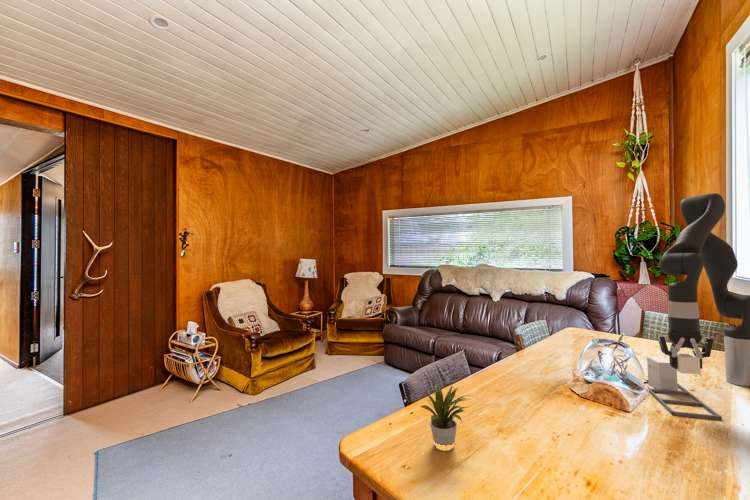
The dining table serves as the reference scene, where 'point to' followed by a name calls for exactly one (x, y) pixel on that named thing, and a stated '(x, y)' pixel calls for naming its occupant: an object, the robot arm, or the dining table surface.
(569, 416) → the dining table surface
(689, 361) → the white and grey cube
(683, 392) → the frame
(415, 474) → the dining table surface
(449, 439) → the house plant
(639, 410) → the dining table surface
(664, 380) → the small box
